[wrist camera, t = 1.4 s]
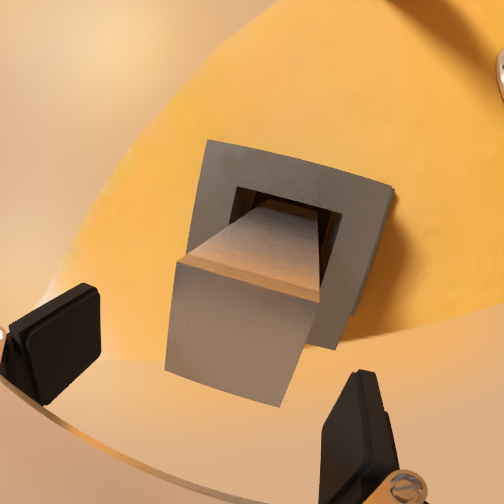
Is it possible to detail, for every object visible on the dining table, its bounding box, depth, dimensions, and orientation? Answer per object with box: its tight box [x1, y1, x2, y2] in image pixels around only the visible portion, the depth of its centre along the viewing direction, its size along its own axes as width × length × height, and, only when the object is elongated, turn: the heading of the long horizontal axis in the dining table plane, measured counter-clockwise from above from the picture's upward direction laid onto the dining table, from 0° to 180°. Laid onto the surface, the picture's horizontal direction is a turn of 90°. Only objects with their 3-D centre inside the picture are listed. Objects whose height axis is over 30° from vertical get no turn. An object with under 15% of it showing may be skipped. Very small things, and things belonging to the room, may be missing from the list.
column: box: [165, 199, 320, 407], centre depth 21 cm, size 5×6×22 cm
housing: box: [186, 139, 395, 350], centre depth 27 cm, size 19×14×10 cm
